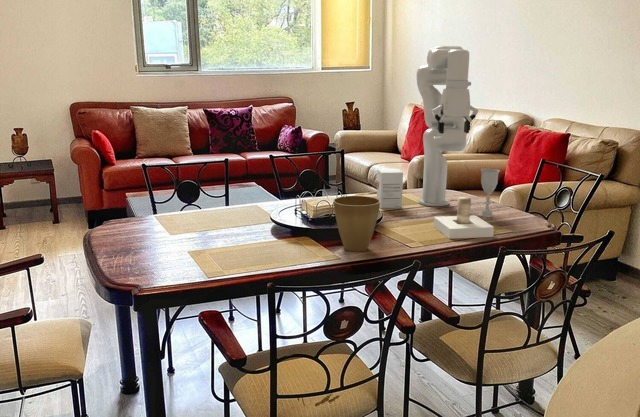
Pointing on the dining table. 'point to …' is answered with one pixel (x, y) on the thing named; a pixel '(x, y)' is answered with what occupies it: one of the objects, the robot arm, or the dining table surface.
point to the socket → (463, 227)
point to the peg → (463, 210)
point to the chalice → (488, 187)
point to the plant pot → (356, 220)
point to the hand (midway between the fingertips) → (453, 132)
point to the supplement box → (389, 188)
